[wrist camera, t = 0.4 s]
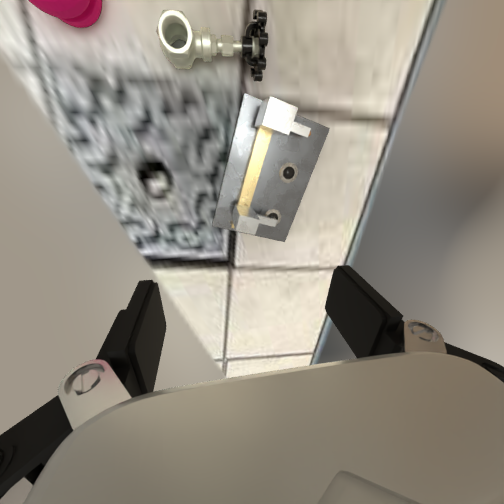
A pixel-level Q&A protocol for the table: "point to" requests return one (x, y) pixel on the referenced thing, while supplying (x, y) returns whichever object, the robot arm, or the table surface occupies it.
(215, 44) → the valve
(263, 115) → the block
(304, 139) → the bolt plate
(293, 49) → the table surface
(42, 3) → the magenta pepper mill
